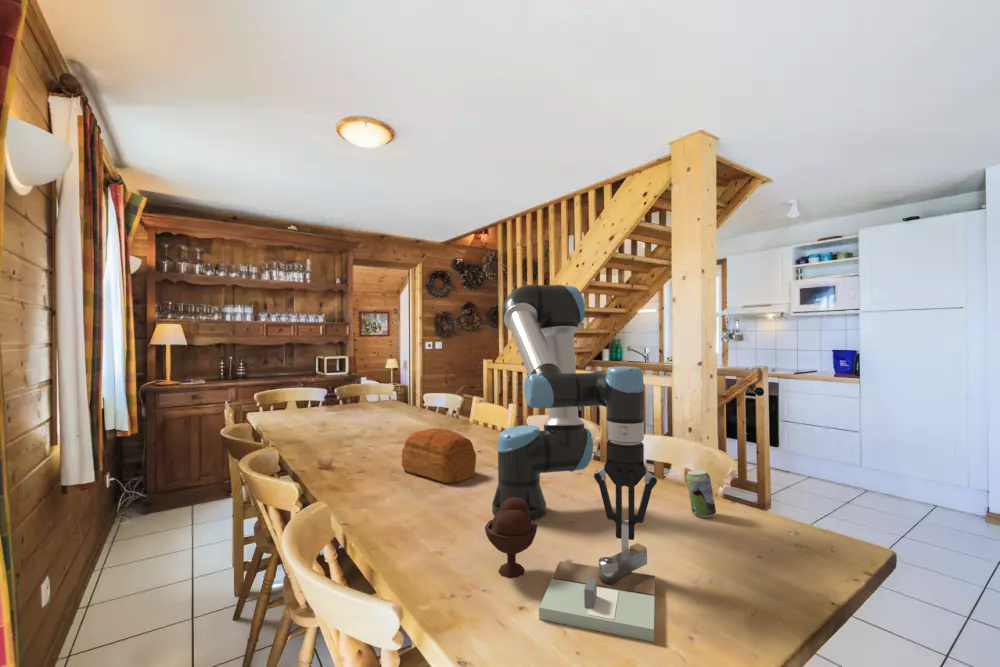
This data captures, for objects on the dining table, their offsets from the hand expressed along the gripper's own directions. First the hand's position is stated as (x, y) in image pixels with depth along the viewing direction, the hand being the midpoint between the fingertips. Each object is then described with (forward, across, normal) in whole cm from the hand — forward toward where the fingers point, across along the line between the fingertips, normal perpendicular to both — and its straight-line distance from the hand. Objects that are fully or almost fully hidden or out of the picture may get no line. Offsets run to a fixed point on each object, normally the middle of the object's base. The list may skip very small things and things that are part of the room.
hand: (625, 553), depth 96 cm
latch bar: (+1, 0, -5) cm, 5 cm away
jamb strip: (+4, -4, -7) cm, 9 cm away
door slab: (+4, -4, -16) cm, 17 cm away
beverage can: (+4, +20, +36) cm, 42 cm away
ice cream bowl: (+4, -23, -6) cm, 24 cm away
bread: (+5, -66, +54) cm, 85 cm away
